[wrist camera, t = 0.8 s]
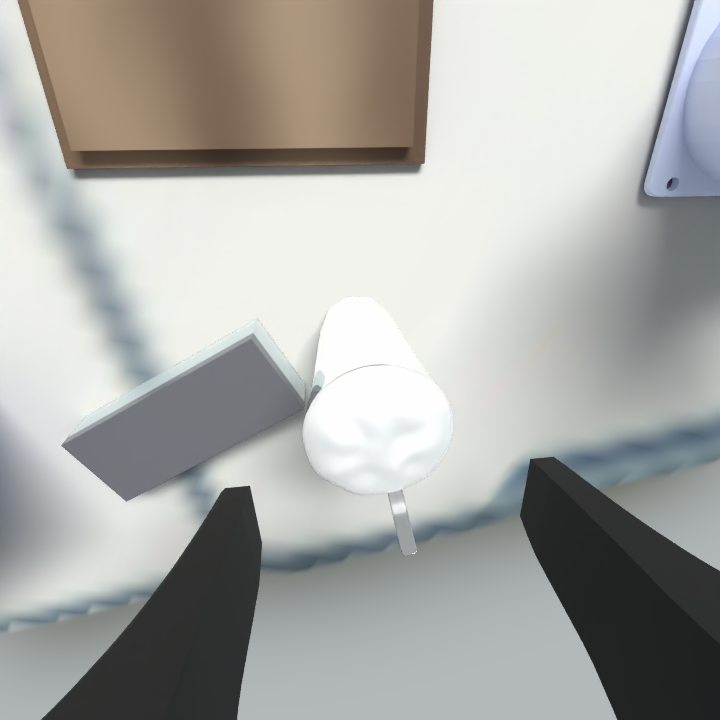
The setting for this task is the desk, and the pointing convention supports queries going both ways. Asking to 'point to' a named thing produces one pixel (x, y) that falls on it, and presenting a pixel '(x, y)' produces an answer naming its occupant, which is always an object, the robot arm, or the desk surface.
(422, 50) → the plinth
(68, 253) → the desk surface
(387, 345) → the milkshake
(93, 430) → the block
